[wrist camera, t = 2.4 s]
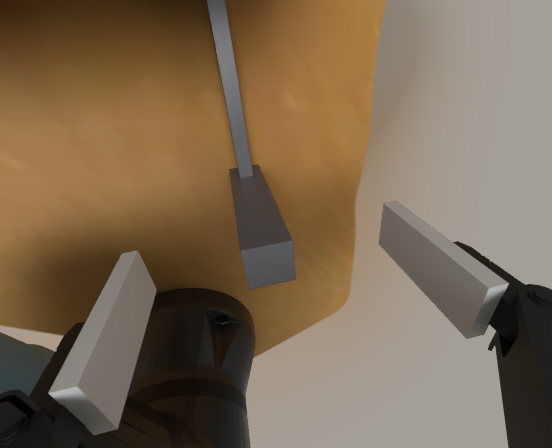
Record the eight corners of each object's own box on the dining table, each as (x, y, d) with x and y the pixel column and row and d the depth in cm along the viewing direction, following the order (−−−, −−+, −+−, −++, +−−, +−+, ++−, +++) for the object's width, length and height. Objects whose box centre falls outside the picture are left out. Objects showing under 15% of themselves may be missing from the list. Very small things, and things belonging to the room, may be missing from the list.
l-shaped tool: (261, 191, 24) (295, 279, 14) (234, 195, 24) (248, 289, 13) (217, -111, 14) (221, -541, 4) (171, -109, 14) (60, -561, 4)
